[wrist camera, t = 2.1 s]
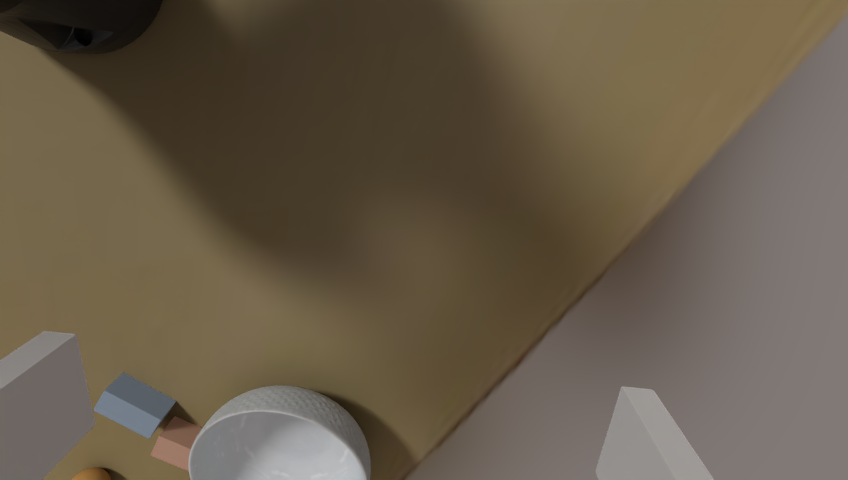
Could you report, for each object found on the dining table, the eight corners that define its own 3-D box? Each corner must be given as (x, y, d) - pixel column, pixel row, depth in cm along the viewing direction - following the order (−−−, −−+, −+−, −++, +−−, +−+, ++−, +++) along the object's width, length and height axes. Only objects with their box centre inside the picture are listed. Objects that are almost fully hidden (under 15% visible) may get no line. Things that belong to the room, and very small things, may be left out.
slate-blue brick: (113, 390, 47) (93, 410, 44) (124, 371, 46) (104, 390, 44) (165, 417, 48) (149, 438, 46) (177, 399, 48) (161, 420, 45)
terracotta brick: (166, 433, 49) (150, 455, 46) (175, 414, 48) (159, 435, 45) (218, 455, 50) (205, 478, 47) (227, 437, 49) (214, 459, 46)
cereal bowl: (191, 428, 49) (152, 484, 42) (279, 330, 44) (251, 376, 37) (316, 506, 52) (299, 570, 46) (410, 424, 48) (405, 481, 41)
